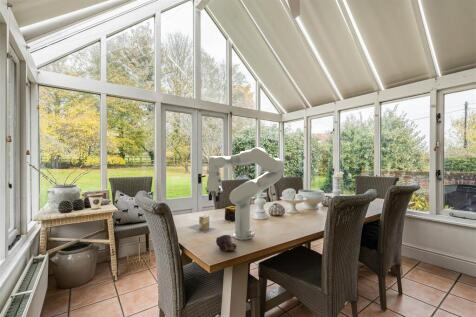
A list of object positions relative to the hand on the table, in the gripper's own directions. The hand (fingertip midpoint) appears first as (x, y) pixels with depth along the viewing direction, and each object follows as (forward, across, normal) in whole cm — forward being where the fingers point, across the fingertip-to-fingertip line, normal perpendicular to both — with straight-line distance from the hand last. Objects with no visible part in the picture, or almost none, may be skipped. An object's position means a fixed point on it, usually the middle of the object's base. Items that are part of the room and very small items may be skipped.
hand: (213, 200), depth 153 cm
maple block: (+21, +9, 0) cm, 23 cm away
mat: (+22, +12, 0) cm, 25 cm away
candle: (+22, +9, -34) cm, 41 cm away
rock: (+22, -25, +19) cm, 38 cm away
